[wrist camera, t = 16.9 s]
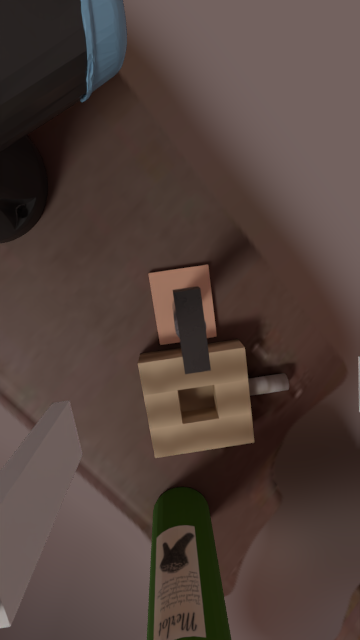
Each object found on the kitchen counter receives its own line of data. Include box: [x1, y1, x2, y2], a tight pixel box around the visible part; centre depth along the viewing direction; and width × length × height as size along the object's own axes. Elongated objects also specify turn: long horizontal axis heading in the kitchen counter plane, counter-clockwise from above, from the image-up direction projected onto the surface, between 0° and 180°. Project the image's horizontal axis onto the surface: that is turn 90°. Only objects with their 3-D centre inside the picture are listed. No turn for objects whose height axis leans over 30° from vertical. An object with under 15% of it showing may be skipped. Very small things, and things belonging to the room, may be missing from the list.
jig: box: [138, 339, 289, 458], centre depth 42 cm, size 14×20×4 cm
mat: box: [148, 264, 217, 345], centre depth 41 cm, size 10×8×1 cm
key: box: [172, 286, 211, 374], centre depth 34 cm, size 3×8×14 cm, turn 8°
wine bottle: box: [147, 487, 231, 640], centre depth 33 cm, size 9×9×32 cm
